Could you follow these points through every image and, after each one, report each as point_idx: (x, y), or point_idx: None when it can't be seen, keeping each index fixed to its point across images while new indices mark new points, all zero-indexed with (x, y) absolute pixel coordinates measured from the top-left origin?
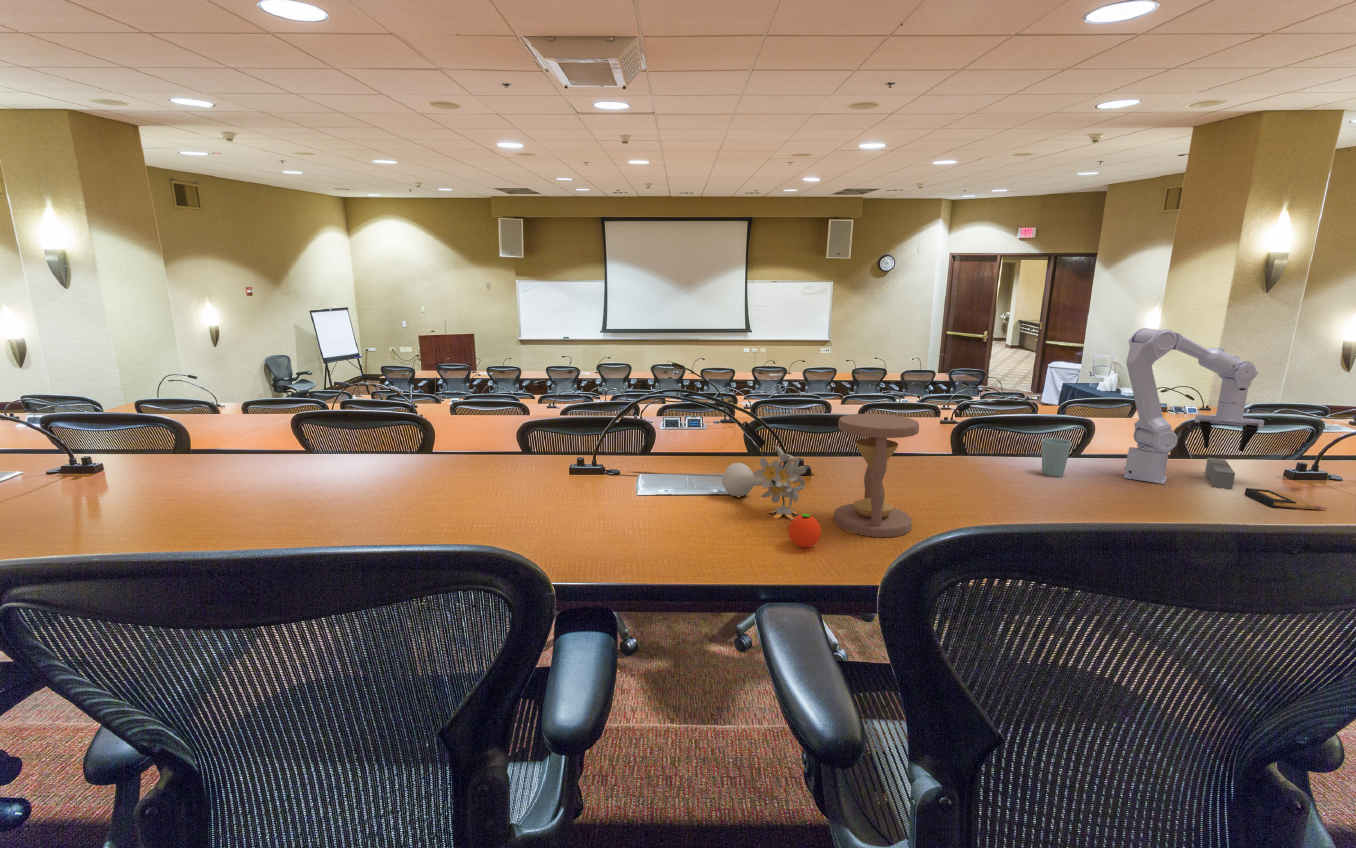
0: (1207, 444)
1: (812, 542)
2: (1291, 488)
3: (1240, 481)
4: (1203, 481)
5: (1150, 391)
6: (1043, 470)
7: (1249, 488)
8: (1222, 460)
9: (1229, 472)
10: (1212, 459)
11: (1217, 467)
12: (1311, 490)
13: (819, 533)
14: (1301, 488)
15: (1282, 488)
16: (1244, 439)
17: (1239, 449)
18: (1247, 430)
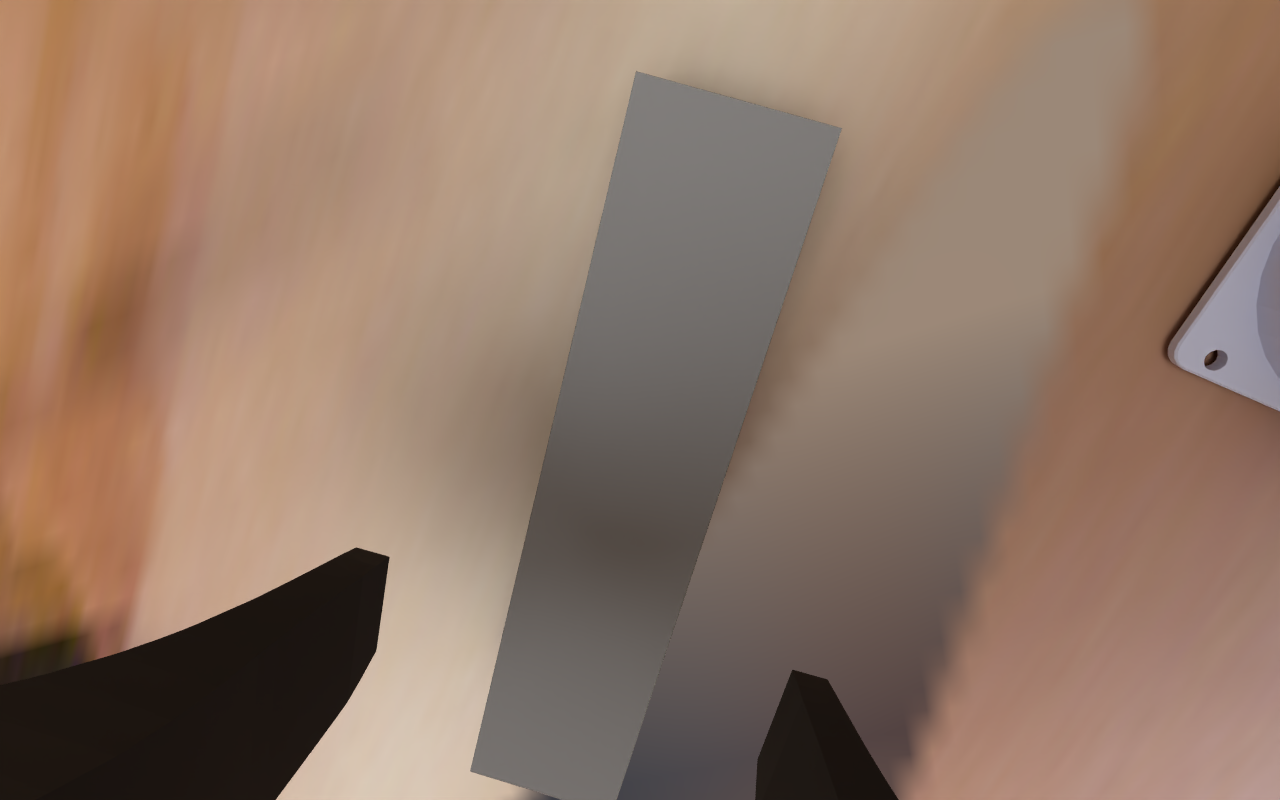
0: (818, 710)
1: None
2: (131, 343)
3: (455, 467)
4: (798, 364)
5: None
6: None
7: None
8: (512, 727)
9: (690, 100)
10: (598, 746)
11: (718, 365)
12: (6, 325)
13: None
14: (62, 370)
15: (197, 318)
16: (240, 662)
17: (373, 627)
18: (20, 789)
